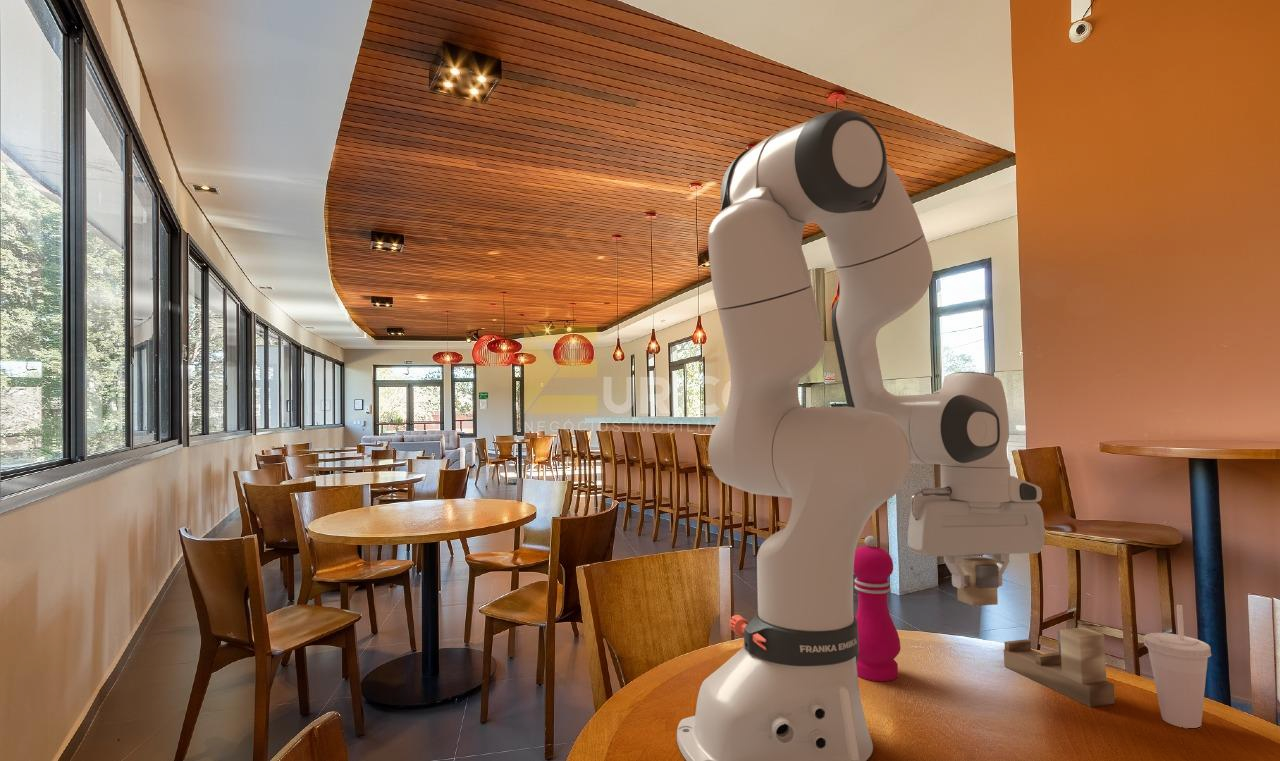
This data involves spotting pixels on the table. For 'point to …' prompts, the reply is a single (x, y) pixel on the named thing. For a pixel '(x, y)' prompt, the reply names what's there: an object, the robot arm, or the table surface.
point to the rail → (1053, 674)
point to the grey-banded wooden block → (980, 581)
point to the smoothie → (1179, 674)
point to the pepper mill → (875, 614)
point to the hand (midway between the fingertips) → (977, 586)
